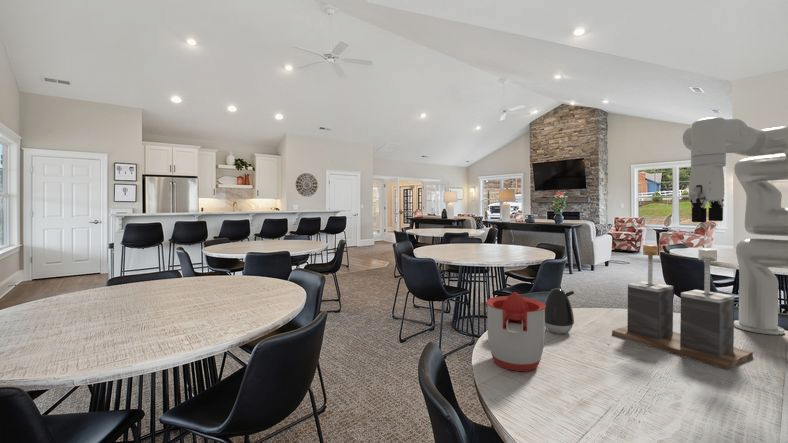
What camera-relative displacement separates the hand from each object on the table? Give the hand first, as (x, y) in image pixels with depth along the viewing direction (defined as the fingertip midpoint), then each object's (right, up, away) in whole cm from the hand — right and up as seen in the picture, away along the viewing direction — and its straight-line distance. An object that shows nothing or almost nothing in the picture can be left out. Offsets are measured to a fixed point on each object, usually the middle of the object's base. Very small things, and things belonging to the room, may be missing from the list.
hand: (707, 221), depth 102 cm
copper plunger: (-6, -28, +14) cm, 32 cm away
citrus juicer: (-57, -40, -4) cm, 70 cm away
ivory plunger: (0, -29, +1) cm, 29 cm away
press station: (-3, -39, +8) cm, 39 cm away
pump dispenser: (-33, -39, +21) cm, 55 cm away
